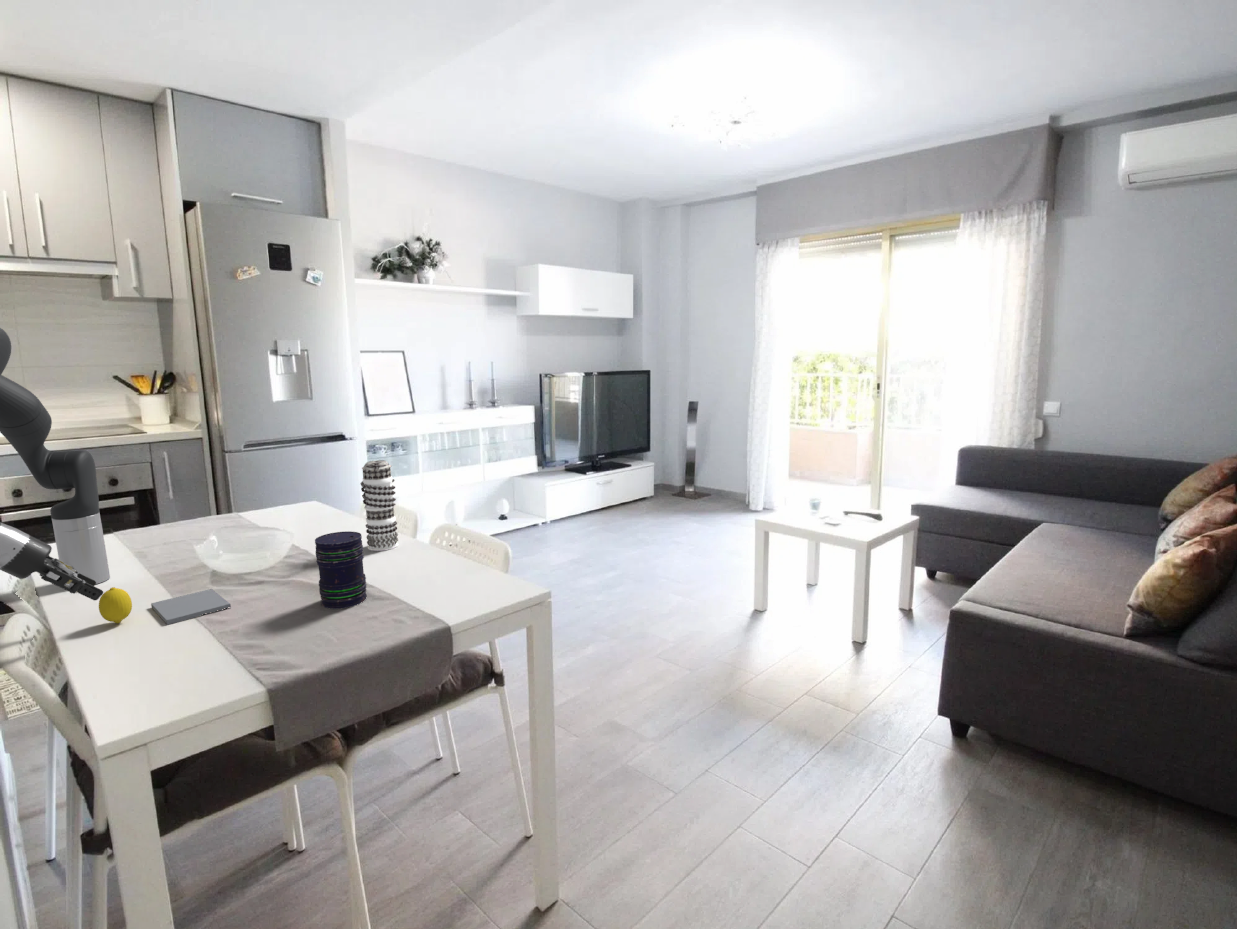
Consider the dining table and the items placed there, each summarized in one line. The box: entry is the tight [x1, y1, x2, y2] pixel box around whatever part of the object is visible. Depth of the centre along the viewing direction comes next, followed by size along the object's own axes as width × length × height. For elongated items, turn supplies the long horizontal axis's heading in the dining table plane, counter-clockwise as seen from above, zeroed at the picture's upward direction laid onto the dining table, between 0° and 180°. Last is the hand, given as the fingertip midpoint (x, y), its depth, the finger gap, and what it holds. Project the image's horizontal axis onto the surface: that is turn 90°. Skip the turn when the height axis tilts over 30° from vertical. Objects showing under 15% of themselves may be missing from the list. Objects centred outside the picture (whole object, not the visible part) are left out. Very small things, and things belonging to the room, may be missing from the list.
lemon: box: [98, 587, 133, 625], centre depth 138 cm, size 6×6×8 cm
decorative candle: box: [359, 459, 399, 552], centre depth 188 cm, size 9×9×25 cm
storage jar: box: [314, 530, 368, 610], centre depth 148 cm, size 10×10×15 cm
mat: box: [150, 588, 232, 626], centre depth 147 cm, size 14×12×1 cm
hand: (96, 591), depth 136 cm, fingers open, 8 cm apart
